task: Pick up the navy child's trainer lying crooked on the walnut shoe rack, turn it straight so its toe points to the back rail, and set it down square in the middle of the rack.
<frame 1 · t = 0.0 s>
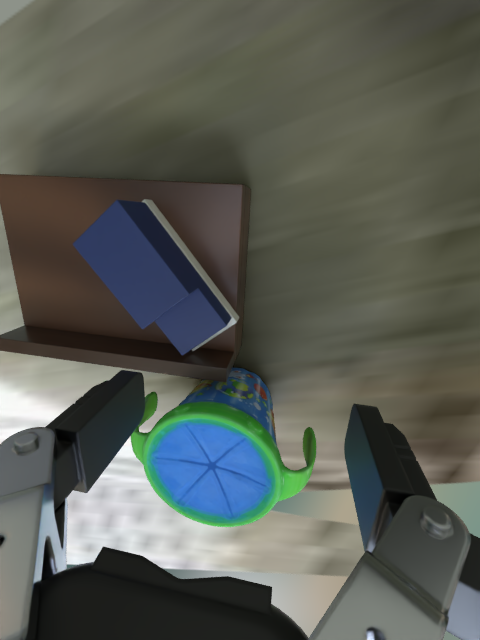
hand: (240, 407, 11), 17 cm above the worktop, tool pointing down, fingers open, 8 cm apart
shoe rack: (141, 265, 28), on the worktop
snack cup: (235, 395, 31), on the worktop
trainer: (176, 277, 24), point 4 cm above the worktop, touching shoe rack
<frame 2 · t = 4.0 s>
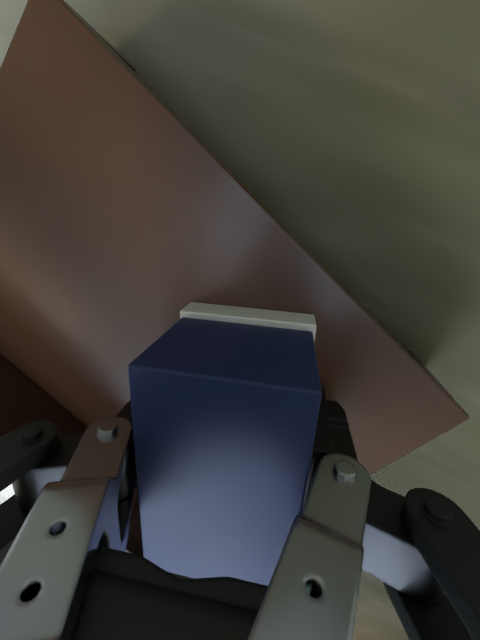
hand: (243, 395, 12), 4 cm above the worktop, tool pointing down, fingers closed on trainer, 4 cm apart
shoe rack: (187, 319, 16), on the worktop
trainer: (242, 429, 13), point 4 cm above the worktop, touching gripper, shoe rack
when the fingers open (4 cm above the worktop, at t = 10.4 s): trainer stays where it is, resting on shoe rack.
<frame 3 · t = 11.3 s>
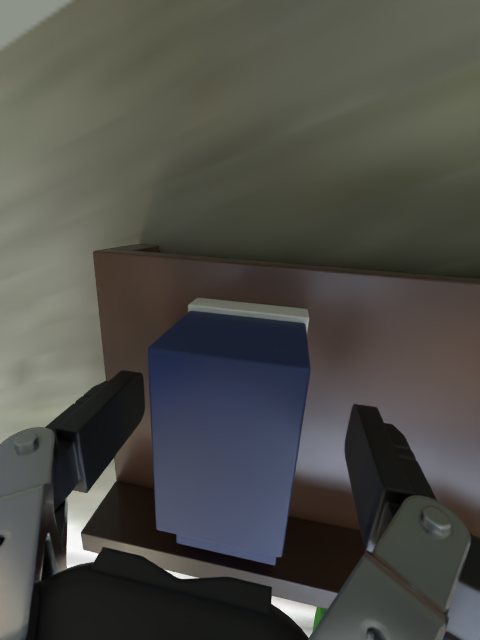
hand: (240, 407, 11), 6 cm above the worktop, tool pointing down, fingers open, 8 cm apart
shoe rack: (305, 380, 17), on the worktop
trainer: (242, 415, 14), point 4 cm above the worktop, touching shoe rack
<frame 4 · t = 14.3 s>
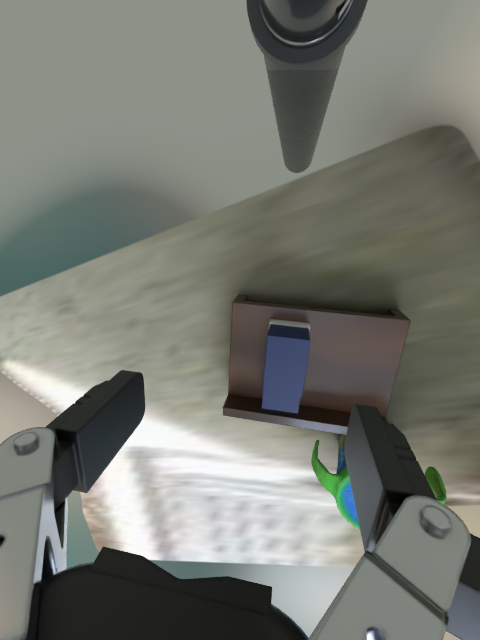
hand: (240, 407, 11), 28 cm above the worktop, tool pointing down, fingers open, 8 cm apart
shoe rack: (308, 351, 40), on the worktop
snack cup: (364, 439, 43), on the worktop
trainer: (284, 362, 37), point 4 cm above the worktop, touching shoe rack
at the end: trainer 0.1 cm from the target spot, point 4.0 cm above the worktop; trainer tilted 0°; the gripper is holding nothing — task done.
